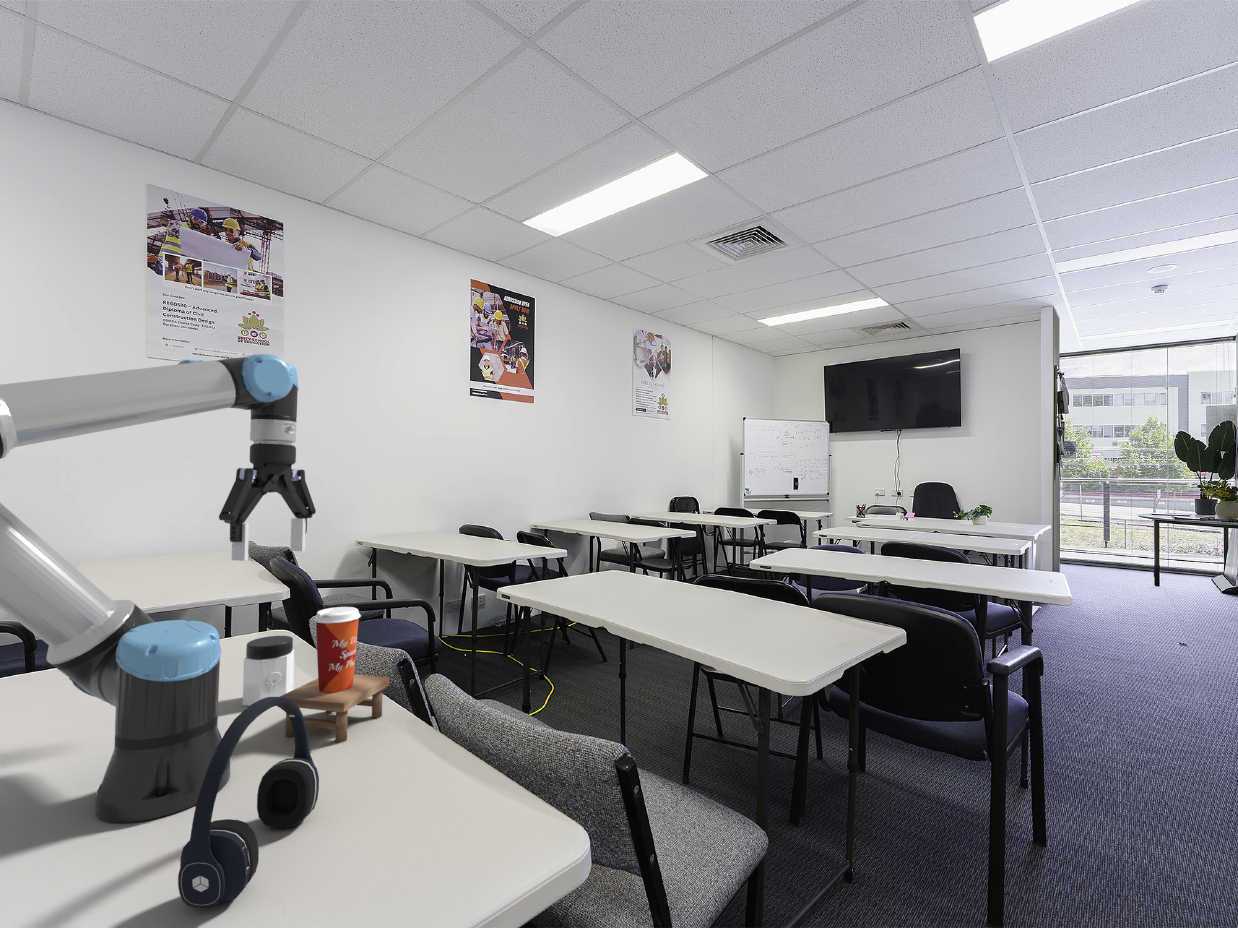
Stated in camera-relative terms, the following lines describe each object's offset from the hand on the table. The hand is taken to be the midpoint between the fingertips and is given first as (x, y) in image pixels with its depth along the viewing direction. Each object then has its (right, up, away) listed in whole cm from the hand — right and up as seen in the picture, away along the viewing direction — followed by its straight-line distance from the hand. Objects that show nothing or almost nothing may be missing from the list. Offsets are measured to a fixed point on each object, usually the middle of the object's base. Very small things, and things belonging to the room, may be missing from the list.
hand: (270, 555), depth 106 cm
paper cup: (+14, -24, -3) cm, 28 cm away
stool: (+14, -31, -3) cm, 34 cm away
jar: (-6, -31, +8) cm, 33 cm away
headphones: (+23, -30, -39) cm, 54 cm away
